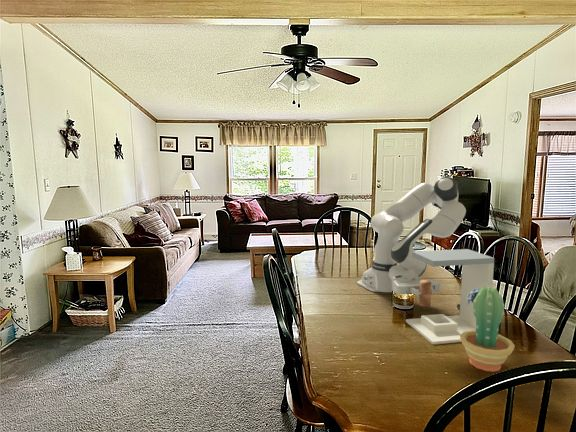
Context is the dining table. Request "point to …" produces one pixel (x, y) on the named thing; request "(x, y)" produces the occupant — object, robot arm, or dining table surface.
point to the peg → (425, 293)
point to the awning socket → (473, 276)
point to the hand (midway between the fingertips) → (426, 292)
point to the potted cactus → (486, 331)
